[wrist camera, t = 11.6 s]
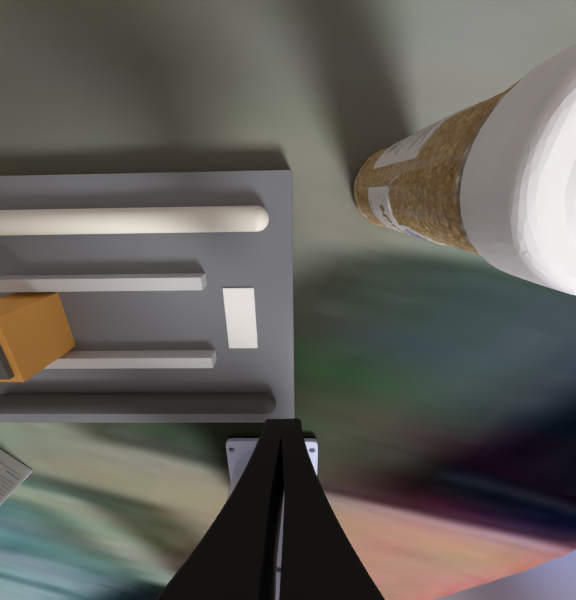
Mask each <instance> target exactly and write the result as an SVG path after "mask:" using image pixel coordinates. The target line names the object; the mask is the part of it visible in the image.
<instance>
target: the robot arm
mask: <svg viewBox="0 0 576 600" xmlns="http://www.w3.org/2000/svg"><path fill="white" fill-rule="evenodd" d="M311 448H312V449H311ZM226 451H227V459H228V467H229V474H230V482H231V484H230V488H229V493H228V497H227V502H226V504H225V505H224V507H223V508H222V510H221V512H220V513H219V515H218V516H217V518H216V519H215V521H214V522H213V524H212V525H211V527H210V528H209V530H208V531H207V533H206V534H205V535H204V537H203V538H202V540H201V541H200V543H199V544H198V545H197V547H196V548H195V550H194V551H193V552H192V554H191V555H190V556H189V558H188V559H187V560H186V562H185V563H184V564H183V565H182V567H181V568H180V569H179V570H178V572H177V573H176V574H175V576H174V577H173V578H172V579H171V581H170V582H169V583H168V584H167V586H166V587H165V588H164V590H163V591H162V592H161V593H160V594H159V596H158V597H157V598H156V599H155V600H385V599H384V598H383V596H382V594H381V593H380V591H379V590H378V588H377V587H376V585H375V584H374V582H373V580H372V579H371V577H370V576H369V574H368V572H367V571H366V569H365V567H364V566H363V564H362V562H361V561H360V559H359V557H358V556H357V554H356V552H355V551H354V549H353V547H352V546H351V544H350V542H349V541H348V539H347V537H346V535H345V533H344V531H343V529H342V528H341V526H340V524H339V522H338V520H337V518H336V516H335V514H334V512H333V510H332V508H331V506H330V504H329V502H328V500H327V498H326V496H325V494H324V491H323V489H322V487H321V484H320V482H319V480H318V477H317V460H318V442H317V440H316V439H314V438H304V437H303V432H302V427H301V421H300V420H299V419H298V418H297V419H267V420H266V421H265V423H264V426H263V429H262V432H261V435H260V437H259V438H229V439H228V440H227V441H226Z"/></svg>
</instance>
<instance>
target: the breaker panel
mask: <svg viewBox="0 0 576 600" xmlns="http://www.w3.org/2000/svg"><path fill="white" fill-rule="evenodd" d="M202 206H261V207H262V208H264V209H265V210H266V211H267V213H268V216H269V222H268V225H267V226H266V228H265V229H263V230H262V231H257V232H197V233H132V234H67V235H2V236H0V298H1V297H4V296H7V295H9V294H12V293H58V294H59V297H60V300H61V303H62V306H63V309H64V312H65V315H66V318H67V321H68V323H69V326H70V329H71V332H72V335H73V338H74V341H75V344H76V346H75V347H74V348H72V349H71V350H69V351H68V352H67V353H65V354H64V355H62V356H61V357H59V358H58V359H57V360H55V361H54V362H52V363H51V364H49V365H48V366H46V367H45V368H44V369H42V370H41V371H39V372H38V373H36V374H35V375H33V376H32V377H31V378H29V379H28V380H26V381H25V382H0V394H271V395H273V396H274V398H275V399H276V408H275V410H274V411H273V412H271V413H269V414H0V422H106V423H265V421H266V420H267V419H294V333H293V244H292V170H264V171H215V172H167V173H118V174H69V175H21V176H0V210H31V209H88V208H145V207H202Z"/></svg>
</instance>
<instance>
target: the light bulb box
mask: <svg viewBox="0 0 576 600" xmlns="http://www.w3.org/2000/svg"><path fill="white" fill-rule="evenodd" d="M31 473H32V470H31V469H30V468H28V467H27V466H25V465H24V464H22V463H21V462H19V461H18V460H16V459H15V458H13V457H12V456H10V455H9V454H7V453H6V452H4V451H3V450H1V449H0V505H1V504H2V503H3V502H4V501H5V500H6V499H7V498H8V496H9V495H10V494H11V493H12V492H13V491H14V490H15V489H16V488H17V487H18V486H19V485H20V484H21V483H22V482H23V481H24V480H25V479H26V478H27V477H28V476H29V475H30V474H31Z"/></svg>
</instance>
